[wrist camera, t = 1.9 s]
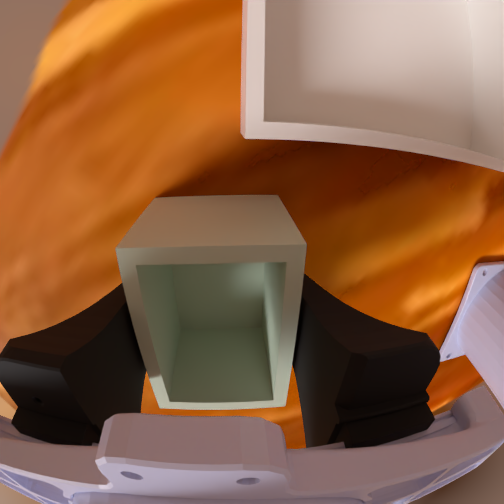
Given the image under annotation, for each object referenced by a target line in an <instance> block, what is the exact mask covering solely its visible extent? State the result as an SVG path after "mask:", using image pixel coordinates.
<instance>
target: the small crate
mask: <svg viewBox="0 0 504 504" xmlns="http://www.w3.org/2000/svg"><path fill="white" fill-rule="evenodd" d="M306 249H307V243H306V242H305V240H304V238H303V237H302V235H301V233H300V231H299V230H298V228H297V226H296V225H295V223H294V221H293V220H292V218H291V216H290V215H289V213H288V211H287V210H286V208H285V206H284V205H283V203H282V201H281V200H280V198H279V196H278V195H212V196H181V197H159V198H154V200H153V201H152V202H151V203H150V205H149V206H148V207H147V208H146V209H145V211H144V212H143V213H142V214H141V216H140V217H139V218H138V219H137V221H136V222H135V223H134V225H133V226H132V227H131V228H130V230H129V231H128V232H127V234H126V235H125V236H124V238H123V239H122V240H121V242H120V243H119V244H118V246H117V247H116V254H117V259H118V264H119V269H120V274H121V278H122V283H123V287H124V292H125V296H126V300H127V304H128V308H129V312H130V316H131V320H132V324H133V327H134V331H135V334H136V338H137V341H138V345H139V348H140V351H141V355H142V358H143V361H144V364H145V367H146V370H147V373H148V376H149V379H150V382H151V385H152V388H153V391H154V394H155V396H156V399H157V402H158V405H159V407H160V408H168V409H197V410H223V409H252V408H268V407H281V406H285V404H286V399H287V393H288V387H289V380H290V374H291V368H292V361H293V354H294V348H295V341H296V333H297V326H298V319H299V311H300V303H301V295H302V286H303V277H304V268H305V259H306Z"/></svg>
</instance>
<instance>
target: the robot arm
mask: <svg viewBox="0 0 504 504" xmlns="http://www.w3.org/2000/svg"><path fill="white" fill-rule="evenodd" d="M461 355H466V356H467V357H468V359H469V360H470V361H471V363H472V364H473V365H474V367H475V368H476V369H477V371H478V372H479V373H480V375H481V376H482V378H483V379H484V380H485V382H486V383H487V384H488V386H489V387H490V389H491V390H492V392H493V393H494V395H495V396H496V398H497V399H498V401H499V402H500V404H501V405H502V407H503V408H504V261H500V262H487V263H479V264H477V265H476V266H475V267H474V269H473V271H472V274H471V277H470V280H469V283H468V286H467V288H466V291H465V294H464V296H463V299H462V301H461V304H460V306H459V309H458V311H457V314H456V316H455V318H454V321H453V323H452V325H451V328H450V330H449V332H448V334H447V336H446V339H445V341H444V343H443V345H442V347H441V349H440V351H439V350H438V348H437V347H436V346H435V344H434V343H433V341H432V340H431V339H430V337H429V336H428V335H427V333H423V332H419V331H414V330H410V329H405V328H401V327H398V326H395V325H392V324H389V323H386V322H383V321H380V320H378V319H375V318H373V317H371V316H368V315H366V314H364V313H362V312H360V311H358V310H356V309H354V308H352V307H350V306H349V305H347V304H345V303H343V302H342V301H340V300H339V299H337V298H336V297H334V296H333V295H331V294H330V293H328V292H327V291H326V290H324V289H323V288H322V287H320V286H319V285H318V284H317V283H315V282H314V281H313V280H312V279H311V278H309V277H308V276H307V275H306V274H305V273H304V277H303V286H302V295H301V303H300V311H299V319H298V326H297V333H296V341H295V348H294V354H293V361H292V365H293V368H294V372H295V376H296V381H297V387H298V392H299V398H300V404H301V411H302V417H303V425H304V432H305V440H306V448H303V449H286V443H285V437H284V434H283V432H282V429H281V427H280V426H279V425H276V424H274V423H272V422H270V421H267V420H265V419H263V418H258V417H246V416H172V415H156V414H143V413H141V402H142V393H143V386H144V379H145V374H146V367H145V364H144V361H143V358H142V355H141V351H140V348H139V345H138V341H137V338H136V334H135V331H134V327H133V324H132V320H131V316H130V312H129V308H128V304H127V300H126V296H125V292H124V287H123V283H121V284H120V285H119V286H118V287H116V288H115V289H114V290H113V291H111V292H110V293H109V294H107V295H106V296H104V297H103V298H102V299H100V300H99V301H98V302H96V303H95V304H93V305H92V306H90V307H89V308H87V309H85V310H84V311H82V312H80V313H79V314H77V315H75V316H73V317H71V318H69V319H67V320H65V321H63V322H61V323H59V324H56V325H54V326H52V327H49V328H47V329H44V330H41V331H38V332H35V333H32V334H28V335H25V336H21V337H17V338H13V339H10V340H9V341H8V343H7V344H6V346H5V347H4V349H3V351H2V352H1V354H0V382H1V384H2V385H3V387H4V388H5V390H6V391H7V392H8V394H9V395H10V397H11V398H12V399H13V401H14V402H15V403H16V405H17V406H18V408H17V410H16V412H15V415H14V417H13V419H12V420H11V419H8V418H6V417H3V416H1V415H0V482H1V483H2V484H4V485H6V486H8V487H10V488H12V489H14V490H16V491H18V492H19V493H21V494H23V495H25V496H28V497H29V498H32V499H34V500H36V501H38V502H40V503H42V504H407V503H409V502H411V501H414V500H416V499H418V498H420V497H422V496H424V495H426V494H428V493H431V492H432V491H434V490H436V489H438V488H440V487H442V486H444V485H446V484H448V483H450V482H452V481H453V480H455V479H457V478H459V477H461V476H462V475H464V474H466V473H467V472H469V471H471V470H473V469H474V468H476V467H477V466H479V465H480V464H481V463H482V462H483V461H484V460H486V459H487V458H488V457H489V456H490V455H491V454H492V453H493V452H494V451H495V450H496V449H497V448H499V446H501V445H502V444H503V443H504V415H503V413H502V411H501V410H500V408H499V407H498V405H497V404H496V402H495V401H494V399H493V398H492V396H491V395H490V393H489V392H488V391H487V389H486V387H485V386H481V387H479V388H476V389H474V390H472V391H469V392H467V393H465V394H463V395H462V396H461V397H459V398H458V399H457V401H456V402H455V403H454V405H453V406H452V408H451V410H449V411H446V412H443V413H441V414H438V415H436V416H433V414H432V412H431V410H430V408H429V407H428V405H427V403H426V402H428V401H429V395H428V394H427V392H426V388H427V387H428V385H429V383H430V382H431V380H432V378H433V377H434V375H435V373H436V371H437V369H438V366H439V364H440V361H445V360H448V359H452V358H455V357H458V356H461Z"/></svg>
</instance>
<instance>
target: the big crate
mask: <svg viewBox="0 0 504 504" xmlns="http://www.w3.org/2000/svg"><path fill="white" fill-rule="evenodd" d="M241 134H242V135H243V137H244V138H245V139H281V140H303V141H319V142H332V143H344V144H354V145H363V146H372V147H380V148H387V149H394V150H401V151H407V152H414V153H420V154H425V155H431V156H436V157H441V158H446V159H451V160H456V161H460V162H465V163H469V164H474V165H478V166H482V167H486V168H490V169H493V170H497V171H501V172H504V0H243V14H242V63H241Z"/></svg>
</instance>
